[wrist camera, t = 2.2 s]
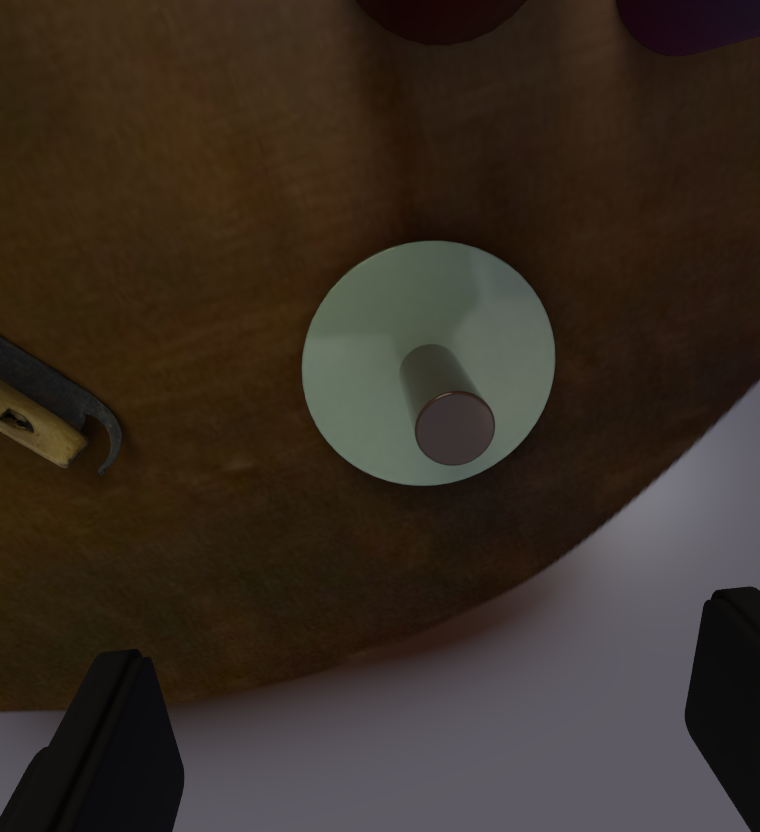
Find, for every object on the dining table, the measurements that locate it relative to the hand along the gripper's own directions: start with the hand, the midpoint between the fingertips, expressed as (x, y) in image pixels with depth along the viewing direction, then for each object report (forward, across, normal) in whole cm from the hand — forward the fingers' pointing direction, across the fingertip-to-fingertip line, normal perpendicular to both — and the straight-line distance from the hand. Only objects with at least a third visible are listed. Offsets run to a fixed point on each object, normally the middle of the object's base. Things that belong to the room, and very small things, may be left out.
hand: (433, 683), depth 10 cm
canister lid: (+14, -2, -1) cm, 14 cm away
